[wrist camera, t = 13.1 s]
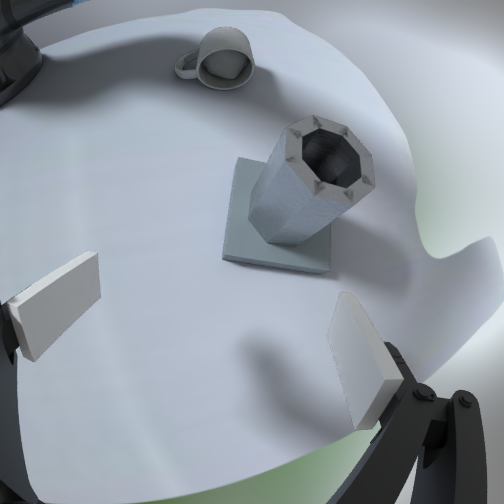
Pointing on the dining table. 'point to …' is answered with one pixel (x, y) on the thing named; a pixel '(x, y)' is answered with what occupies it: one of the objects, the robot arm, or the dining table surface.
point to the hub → (309, 181)
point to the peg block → (250, 241)
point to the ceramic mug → (220, 60)
